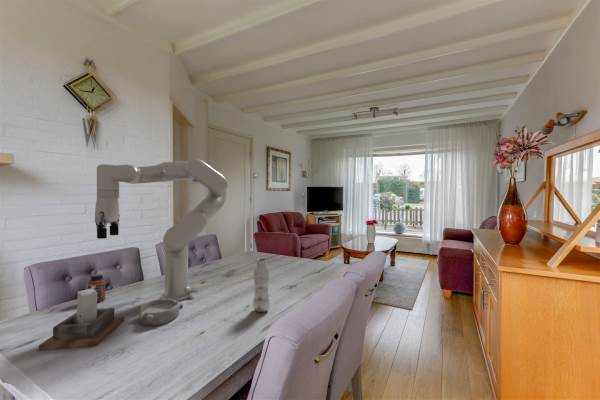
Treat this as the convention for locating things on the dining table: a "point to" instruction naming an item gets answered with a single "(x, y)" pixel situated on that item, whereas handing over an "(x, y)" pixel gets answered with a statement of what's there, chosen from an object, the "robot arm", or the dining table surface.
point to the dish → (159, 311)
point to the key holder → (82, 331)
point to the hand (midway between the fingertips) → (108, 236)
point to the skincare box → (86, 306)
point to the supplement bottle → (98, 286)
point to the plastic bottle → (261, 286)
